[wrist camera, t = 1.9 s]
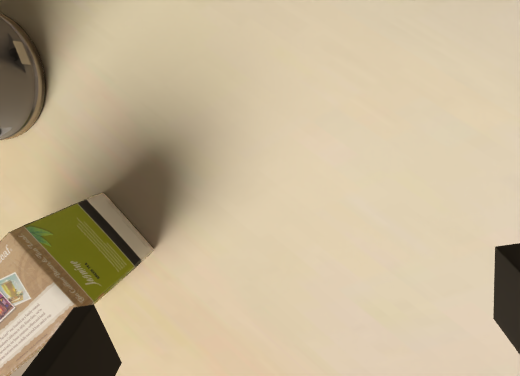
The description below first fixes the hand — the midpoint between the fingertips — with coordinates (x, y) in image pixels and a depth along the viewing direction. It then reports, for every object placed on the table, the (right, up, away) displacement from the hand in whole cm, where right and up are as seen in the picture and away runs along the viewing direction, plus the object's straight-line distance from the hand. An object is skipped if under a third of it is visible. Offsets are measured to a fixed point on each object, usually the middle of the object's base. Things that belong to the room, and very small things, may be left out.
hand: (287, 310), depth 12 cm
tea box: (-22, -4, +36) cm, 43 cm away
